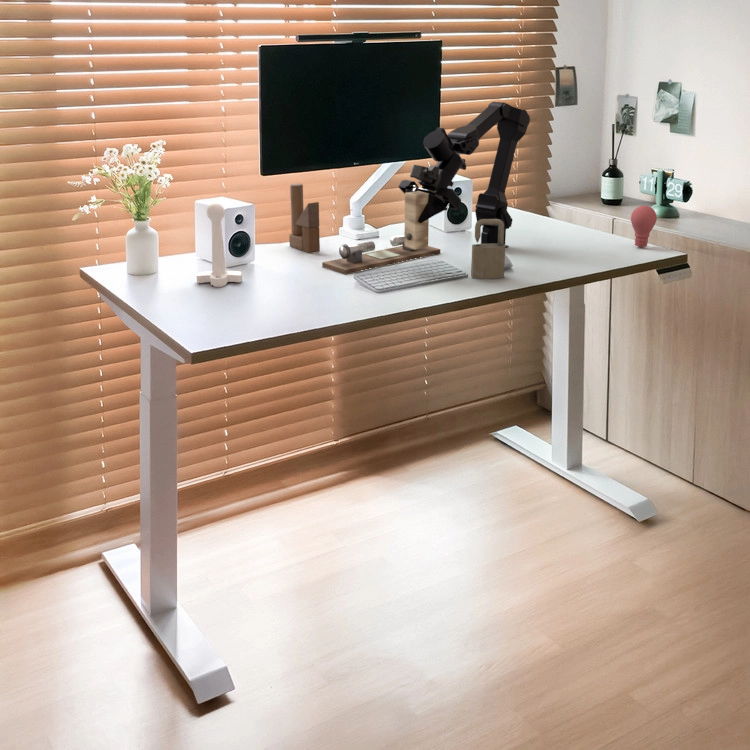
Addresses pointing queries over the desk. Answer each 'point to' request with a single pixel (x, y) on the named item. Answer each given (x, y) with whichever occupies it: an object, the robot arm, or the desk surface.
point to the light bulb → (643, 224)
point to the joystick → (218, 252)
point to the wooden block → (303, 222)
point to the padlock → (488, 253)
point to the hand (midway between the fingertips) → (412, 220)
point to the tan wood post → (415, 220)
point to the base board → (379, 259)
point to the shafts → (367, 249)
